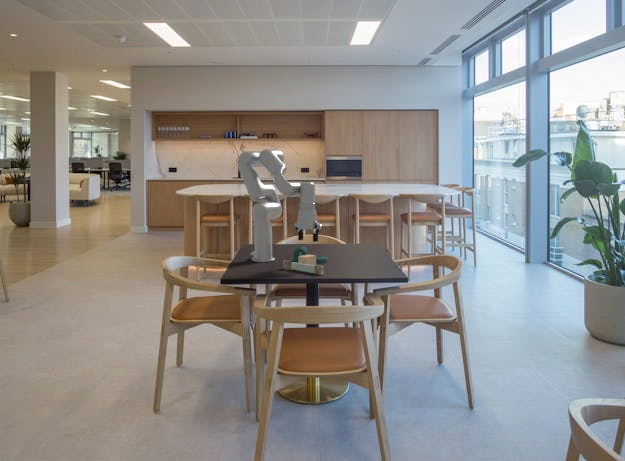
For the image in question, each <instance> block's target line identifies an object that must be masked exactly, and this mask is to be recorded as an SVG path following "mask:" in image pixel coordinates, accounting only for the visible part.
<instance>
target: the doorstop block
mask: <svg viewBox="0 0 625 461" xmlns="http://www.w3.org/2000/svg"><path fill="white" fill-rule="evenodd" d="M316 257H317V255H315V254H309V253H308V255H303V256H298V262H297V263H302V264H308V265H317V263H316Z"/></svg>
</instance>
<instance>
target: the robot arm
mask: <svg viewBox="0 0 625 461" xmlns="http://www.w3.org/2000/svg"><path fill="white" fill-rule="evenodd" d="M284 161H285V156H284V153H283V152H282V151H281V150H280V149H277V148H276V149H275V148H274V149H273V148H272V149H271V148H270V149H269V148H266V149H263V150H260V151H257V150H247V151H244V152H242V153H240V154H239V156H238V158H237V169H238V171H239V174H240V176H241V177H242V179H243V182H244V185H245V188H246V190H247V194H248V196H249V198H250V201H251V200H252V201H253V202H257V203H256V204H255V205H253V207H252V212H251V213H252V217H253V226H254V227H253V228H254V230H253V231H254V250H252V252H250V256H253V257H251V261H252V262H256V263H257V262H258V263H268V262H269V263H270V262H271V263H272V262H274V261H275V260H276V257H274V256H273V227H272V226H273V225H272V223H271V220H273V219H278V218H280V217H281V216H282V213H283V207H282V204H281V201H280V198H279V195H278V192H279V193H280V194H281V195H282V196H284V197H286V198H295V197H297V198H298V197H299V205H298V207H299V208H300V209H298V213H297V221H296V222H294V223H293V225H294V227H295V230H296V232H297V233H298V234H297V235H298V238H297V239H298V241H303V240H304V230H307V231H312V233H313V234H312V242H319V233H320V232H321V231H322V227H323V225H322V224H321V223H320V222H319V221H318V213H317V210H316V185H315V183H314V182H310V181H308V182H307V181H306V182H304V181H288V180H287V179H286V178H285V176H284V175H285V174H286V172H287V168H288V167H287V165H286V164H285V163H284ZM255 167H257V168H260V167H261V168H263V167H264V168H265V169H266V170H267V171H268V172H269V173H270V174H271V175H272V177H273V184H274V186H275V187H274V186H273V184H271V183H268V182H267V183H263V182H262V181H261V178H260V176H259V174H258V173H257V171H256V170H255V169H254V168H255ZM276 189H277V190H276ZM277 191H278V192H277Z"/></svg>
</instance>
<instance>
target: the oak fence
mask: <svg viewBox="0 0 625 461" xmlns="http://www.w3.org/2000/svg"><path fill="white" fill-rule="evenodd" d="M291 262H292V260H282V269H283V270H286V271H287V270H292V269H291ZM324 269H325V266H323V265H320V264H316V265H315V273H314V275H317V276H318V275H319V276H323V275H324V271H325V270H324Z"/></svg>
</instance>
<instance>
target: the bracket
mask: <svg viewBox="0 0 625 461" xmlns="http://www.w3.org/2000/svg"><path fill="white" fill-rule="evenodd" d="M300 253H301V254H300ZM308 254H309V251H308V249H307V248H306V247H305V246H298V247H297V248H295V250H294V251H293V262H295V263H298V256H303V255H308ZM328 259H329V258H328V257H325V256H316V264H326V263H329V260H328Z"/></svg>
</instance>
